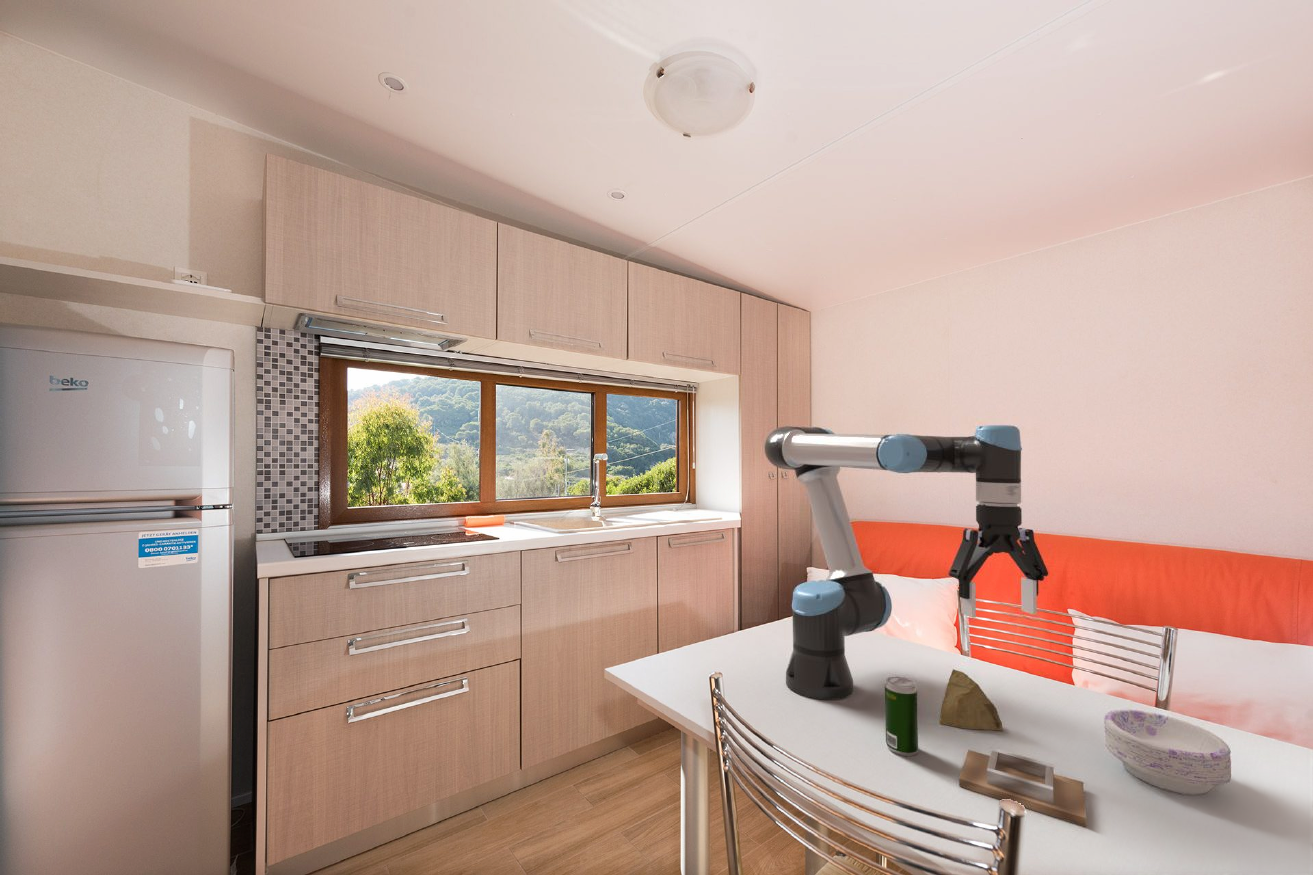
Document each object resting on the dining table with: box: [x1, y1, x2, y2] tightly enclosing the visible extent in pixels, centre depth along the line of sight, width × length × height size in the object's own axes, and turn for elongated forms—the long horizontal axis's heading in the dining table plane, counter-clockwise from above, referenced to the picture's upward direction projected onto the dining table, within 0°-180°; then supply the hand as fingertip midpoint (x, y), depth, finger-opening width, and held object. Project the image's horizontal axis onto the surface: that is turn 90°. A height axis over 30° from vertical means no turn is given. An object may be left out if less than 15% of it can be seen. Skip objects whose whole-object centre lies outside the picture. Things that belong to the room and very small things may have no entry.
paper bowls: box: [1103, 709, 1232, 796], centre depth 89 cm, size 15×15×8 cm
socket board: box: [958, 747, 1087, 828], centre depth 86 cm, size 16×11×3 cm
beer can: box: [884, 676, 919, 757], centre depth 98 cm, size 5×5×12 cm
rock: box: [938, 668, 1004, 731], centre depth 106 cm, size 11×9×10 cm
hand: (999, 614), depth 104 cm, fingers open, 13 cm apart
